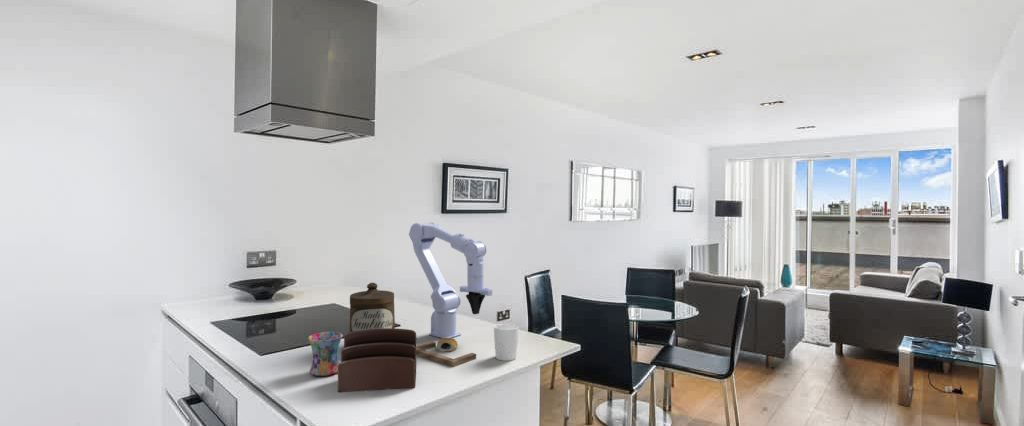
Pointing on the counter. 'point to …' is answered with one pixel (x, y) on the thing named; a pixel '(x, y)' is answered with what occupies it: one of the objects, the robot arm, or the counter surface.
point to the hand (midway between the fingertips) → (475, 313)
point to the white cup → (506, 341)
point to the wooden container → (372, 309)
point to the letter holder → (378, 360)
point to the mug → (325, 353)
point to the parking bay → (439, 358)
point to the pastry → (446, 344)
